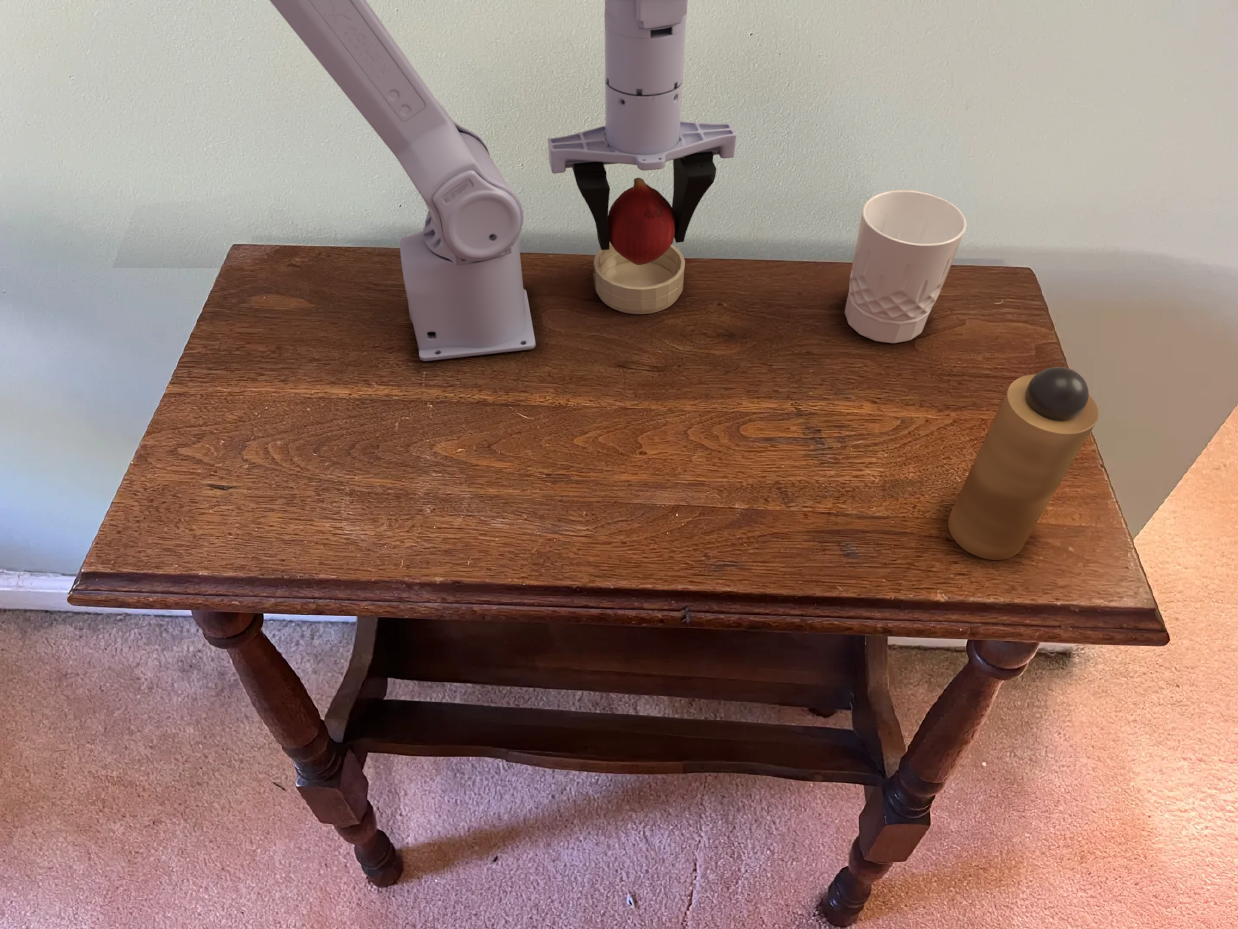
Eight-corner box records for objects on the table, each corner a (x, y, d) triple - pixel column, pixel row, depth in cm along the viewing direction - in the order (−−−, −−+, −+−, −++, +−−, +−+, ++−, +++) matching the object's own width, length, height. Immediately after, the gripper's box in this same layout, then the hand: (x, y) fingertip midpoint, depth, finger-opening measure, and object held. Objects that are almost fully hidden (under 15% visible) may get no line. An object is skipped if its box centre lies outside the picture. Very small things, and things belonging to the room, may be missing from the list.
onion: (675, 246, 76) (680, 162, 70) (671, 284, 72) (676, 199, 66) (610, 242, 76) (609, 159, 70) (603, 280, 72) (602, 195, 67)
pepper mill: (967, 565, 56) (1049, 410, 45) (935, 507, 59) (1004, 350, 49) (1037, 554, 56) (1134, 399, 46) (1002, 497, 60) (1084, 340, 49)
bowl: (602, 320, 73) (602, 293, 71) (588, 267, 78) (587, 240, 76) (691, 310, 74) (694, 283, 72) (672, 258, 79) (673, 232, 77)
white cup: (819, 306, 74) (841, 204, 67) (890, 282, 77) (919, 180, 69) (877, 359, 70) (908, 255, 62) (950, 331, 72) (988, 228, 65)
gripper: (552, 111, 59) (561, 275, 69) (754, 95, 61) (734, 257, 71) (540, 68, 64) (551, 228, 74) (728, 54, 65) (713, 212, 75)
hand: (640, 239), depth 72 cm, fingers closed on onion, 6 cm apart
